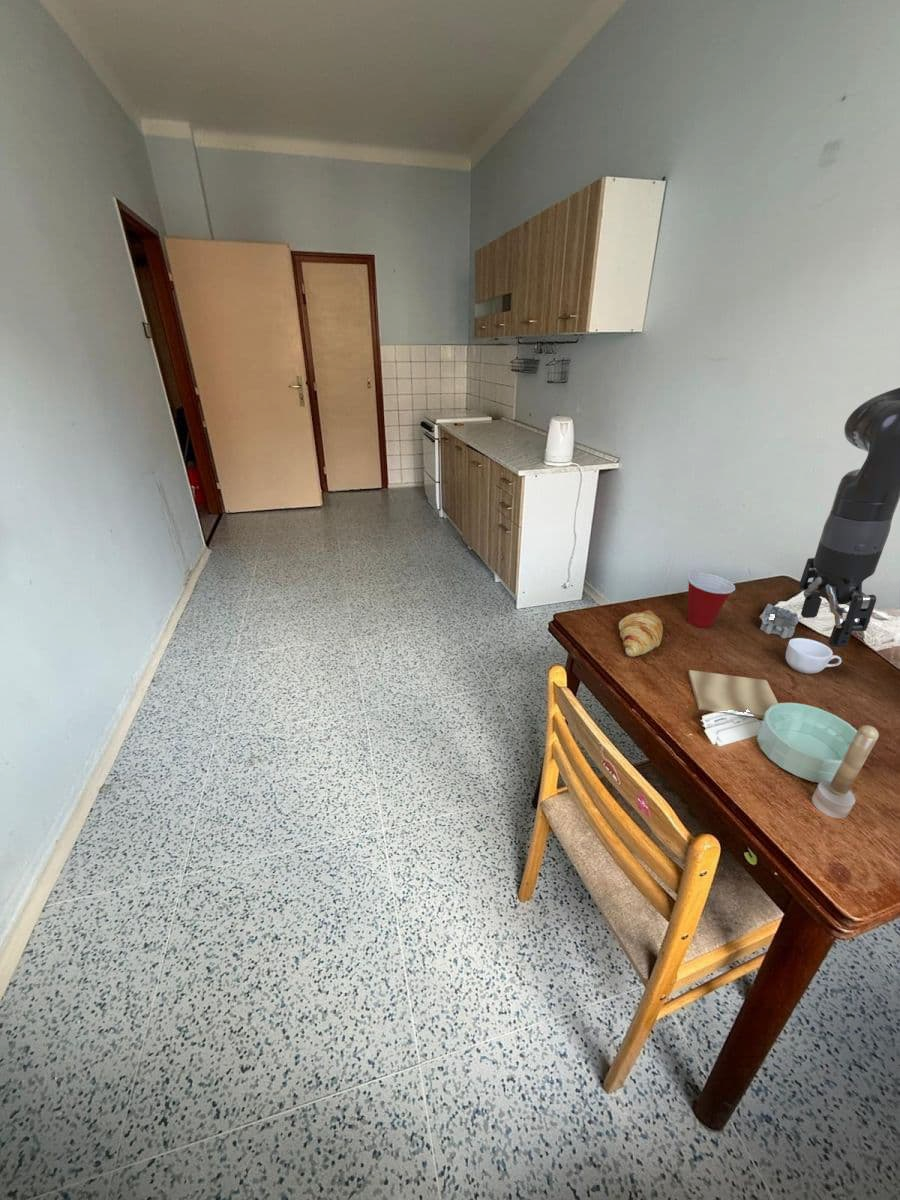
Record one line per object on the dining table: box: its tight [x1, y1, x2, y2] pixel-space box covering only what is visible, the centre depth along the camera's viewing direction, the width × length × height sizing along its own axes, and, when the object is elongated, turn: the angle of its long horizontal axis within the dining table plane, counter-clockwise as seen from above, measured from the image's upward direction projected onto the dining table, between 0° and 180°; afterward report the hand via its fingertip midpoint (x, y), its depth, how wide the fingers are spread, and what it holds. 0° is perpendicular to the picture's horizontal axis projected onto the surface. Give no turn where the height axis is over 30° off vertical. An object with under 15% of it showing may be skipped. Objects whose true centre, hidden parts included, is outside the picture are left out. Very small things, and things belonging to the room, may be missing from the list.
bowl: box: [756, 702, 858, 784], centre depth 81 cm, size 14×14×6 cm
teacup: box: [785, 637, 842, 675], centre depth 102 cm, size 10×8×5 cm
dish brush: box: [811, 724, 880, 820], centre depth 69 cm, size 5×5×16 cm
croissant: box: [618, 609, 664, 658], centre depth 114 cm, size 21×10×8 cm, turn 150°
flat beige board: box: [688, 669, 779, 720], centre depth 96 cm, size 15×12×1 cm
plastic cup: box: [686, 572, 736, 629], centre depth 119 cm, size 11×11×12 cm
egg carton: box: [759, 603, 800, 639], centre depth 118 cm, size 11×8×4 cm
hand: (821, 630), depth 79 cm, fingers open, 8 cm apart
